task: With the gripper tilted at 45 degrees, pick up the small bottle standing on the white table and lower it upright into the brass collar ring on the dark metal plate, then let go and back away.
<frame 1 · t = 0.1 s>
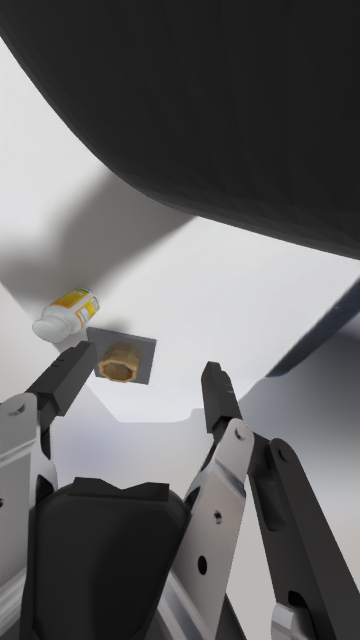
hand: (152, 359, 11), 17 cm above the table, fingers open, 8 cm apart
collar plate: (123, 358, 38), on the table
supplement bottle: (87, 299, 28), on the table
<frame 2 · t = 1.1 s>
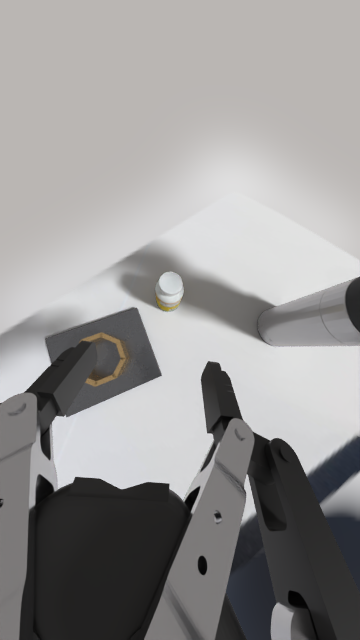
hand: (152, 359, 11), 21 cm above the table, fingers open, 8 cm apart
collar plate: (106, 357, 30), on the table
supplement bottle: (168, 301, 34), on the table
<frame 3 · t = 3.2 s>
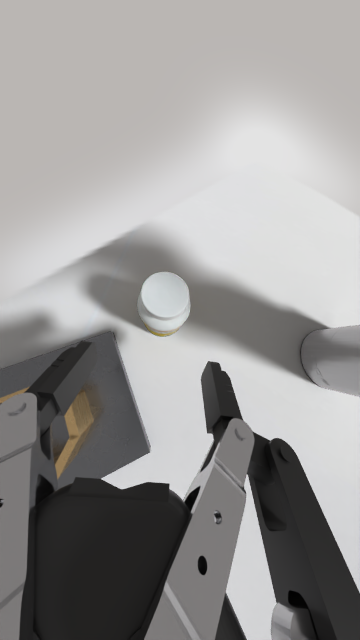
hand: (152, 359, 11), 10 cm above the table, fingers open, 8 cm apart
collar plate: (54, 419, 17), on the table
supplement bottle: (163, 318, 21), on the table
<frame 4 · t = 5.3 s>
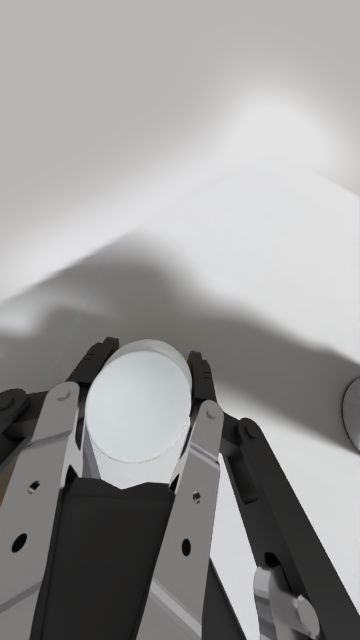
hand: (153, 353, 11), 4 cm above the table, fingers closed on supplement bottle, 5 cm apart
supplement bottle: (152, 369, 15), on the table, touching gripper
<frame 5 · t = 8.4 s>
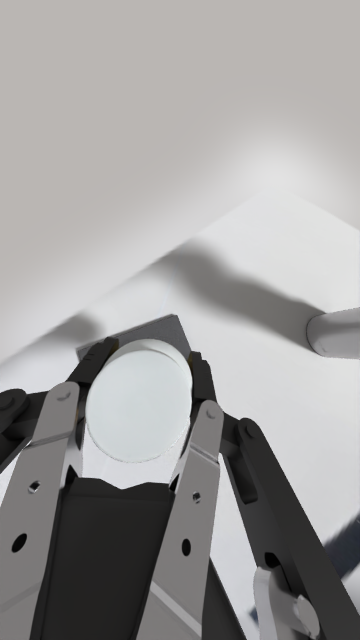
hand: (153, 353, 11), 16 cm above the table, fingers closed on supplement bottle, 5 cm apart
collar plate: (145, 371, 26), on the table
supplement bottle: (152, 369, 15), point 12 cm above the table, touching gripper
when the fingers open (6 cm above the table, at t = 11.7 s): supplement bottle stays where it is, resting on collar plate.
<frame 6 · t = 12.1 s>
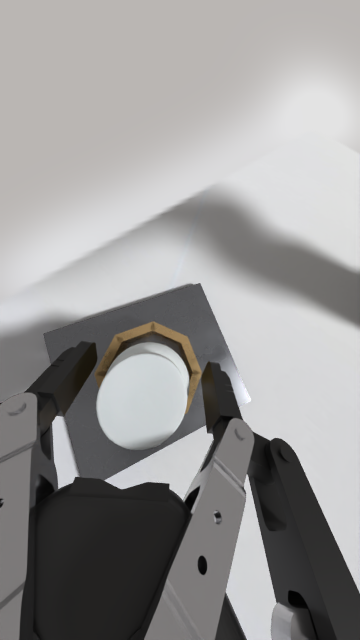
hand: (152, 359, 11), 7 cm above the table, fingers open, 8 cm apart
collar plate: (152, 367, 17), on the table
supplement bottle: (152, 370, 16), point 1 cm above the table, touching collar plate
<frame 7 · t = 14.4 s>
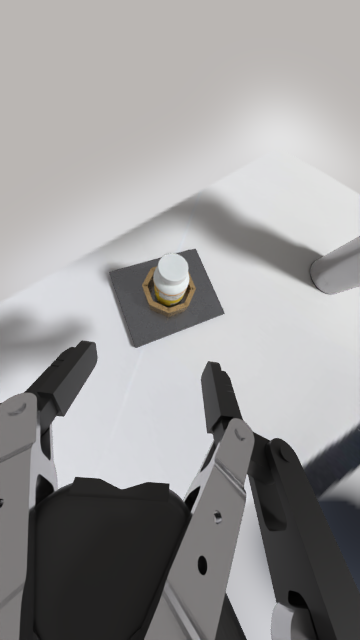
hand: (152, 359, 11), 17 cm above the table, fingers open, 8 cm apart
collar plate: (168, 295, 29), on the table
supplement bottle: (168, 294, 28), point 1 cm above the table, touching collar plate
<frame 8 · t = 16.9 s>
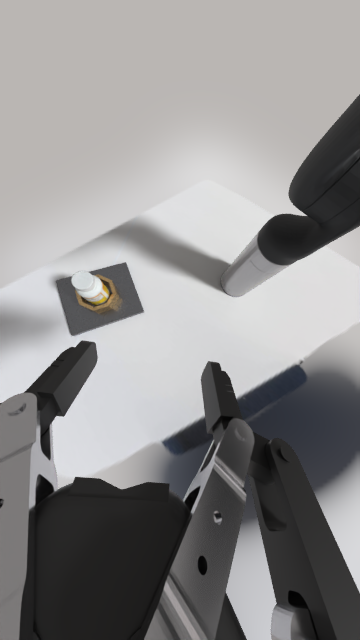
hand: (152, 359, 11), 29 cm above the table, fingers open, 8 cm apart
collar plate: (102, 297, 39), on the table
supplement bottle: (101, 297, 38), point 1 cm above the table, touching collar plate
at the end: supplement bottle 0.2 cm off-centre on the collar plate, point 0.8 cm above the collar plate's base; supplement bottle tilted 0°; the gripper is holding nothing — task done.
